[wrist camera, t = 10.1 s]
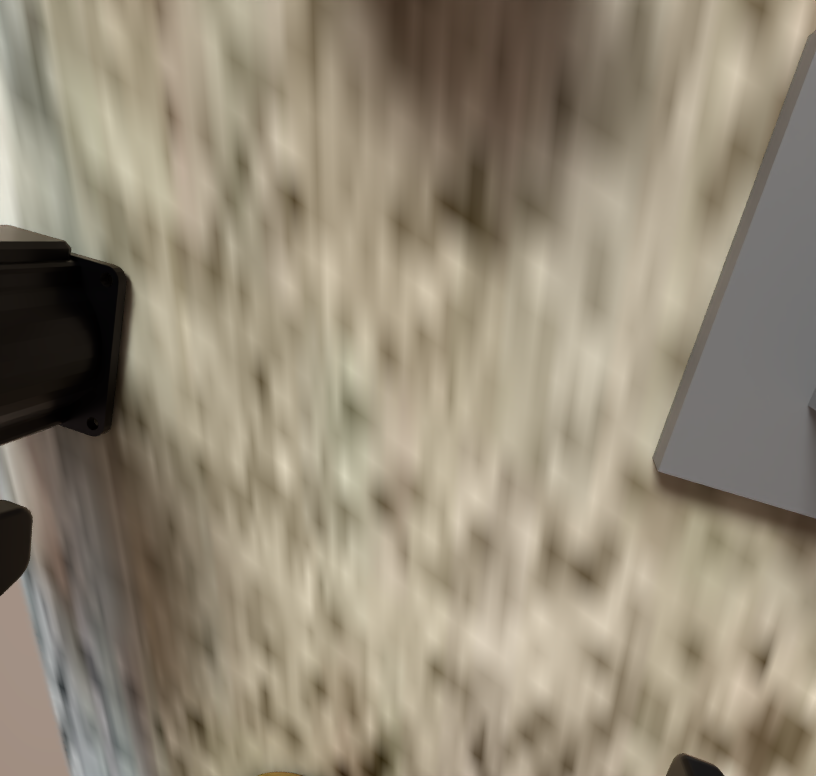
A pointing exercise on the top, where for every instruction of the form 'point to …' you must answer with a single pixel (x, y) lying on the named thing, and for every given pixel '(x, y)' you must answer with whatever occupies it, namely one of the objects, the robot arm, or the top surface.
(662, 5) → the top surface
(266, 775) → the paper tube
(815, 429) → the stand base
